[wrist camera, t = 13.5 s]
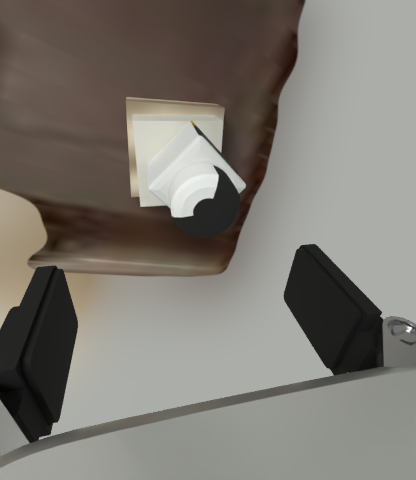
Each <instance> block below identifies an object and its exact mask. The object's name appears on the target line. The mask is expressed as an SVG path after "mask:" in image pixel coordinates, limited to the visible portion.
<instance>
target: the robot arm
mask: <svg viewBox="0 0 416 480" xmlns="http://www.w3.org/2000/svg"><path fill="white" fill-rule="evenodd" d="M284 300H285V302H286V304H287V306H288V307H289V309H290V310H291V312H292V314H293V315H294V317H295V318H296V320H297V322H298V323H299V325H300V327H301V328H302V330H303V331H304V333H305V334H306V336H307V338H308V339H309V341H310V343H311V344H312V346H313V347H314V349H315V350H316V352H317V354H318V355H319V357H320V358H321V360H322V362H323V363H324V365H325V366H326V367H327V368H329V369H330V370H331V371H332V373H333V374H334V376H330V377H324V378H320V379H314V380H309V381H304V382H300V383H294V384H289V385H285V386H279V387H274V388H270V389H265V390H259V391H255V392H250V393H245V394H240V395H235V396H230V397H225V398H221V399H215V400H211V401H206V402H201V403H196V404H191V405H186V406H182V407H177V408H173V409H167V410H163V411H158V412H153V413H148V414H144V415H139V416H134V417H129V418H125V419H120V420H116V421H111V422H107V423H103V424H99V425H94V426H89V427H85V428H81V429H76V430H72V431H69V432H65V433H62V434H58V435H55V436H50V437H47V438H44V439H41V440H39V437H42V436H47V435H50V434H51V429H52V425H53V423H55V422H58V421H59V418H60V414H61V409H62V404H63V399H64V394H65V389H66V384H67V379H68V374H69V369H70V364H71V359H72V354H73V349H74V344H75V339H76V334H77V328H78V321H77V317H76V313H75V309H74V306H73V302H72V299H71V295H70V292H69V289H68V285H67V281H66V278H65V274H64V271H63V269H58V268H57V267H56V266H44V267H38V268H37V269H36V270H35V273H34V275H33V277H32V280H31V282H30V284H29V286H28V288H27V290H26V292H25V295H24V297H23V299H22V302H21V304H20V306H18V307H13V308H12V309H10V311H9V313H8V314H7V317H6V319H5V321H4V323H3V325H2V327H1V329H0V480H416V324H414V323H413V322H411V321H409V320H406V319H404V318H400V317H394V316H390V317H386V319H384V320H383V319H382V318H381V317H380V315H381V314H382V312H381V311H380V310H379V309H378V308H377V307H376V306H375V305H374V304H373V302H371V300H370V299H369V298H368V297H367V296H366V295H365V294H364V293H363V292H362V291H361V290H360V289H359V288H358V287H357V286H356V285H355V284H354V283H353V282H352V281H351V280H350V279H349V278H348V277H347V276H346V275H345V274H344V273H343V272H342V271H341V270H340V269H339V268H338V267H337V266H336V265H335V264H334V263H333V262H332V261H331V259H329V257H328V256H327V255H326V254H325V253H324V252H323V251H321V249H320V248H319V247H318V246H317V245H315V244H309V245H302V246H300V248H299V249H297V250H296V253H295V257H294V260H293V264H292V267H291V271H290V274H289V278H288V281H287V285H286V288H285V292H284Z"/></svg>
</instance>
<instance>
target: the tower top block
mask: <svg viewBox="0 0 416 480" xmlns="http://www.w3.org/2000/svg"><path fill="white" fill-rule="evenodd" d="M189 121H193V122H194V123H195V124H196V126H197V127H198V128H199V129H200V130H201V131H202V132H203V133H204V134H205V136H206V137H207V138H208V139H209V140H210V141H211V142H212V143H213V144H214V146H215V147H216V148H217V149H218V150H219V151H220V152H221V150H222V135H223V121H222V120H220V119H219V118H217V117H216V116H214V115H151V114H133V116H132V122H133V133H134V143H135V154H136V164H137V175H138V186H139V196H140V207H146V206H164V205H166V204H164V203H163V202H162V201H161V200H160V199H158V198H157V197H156V196H155V195H154V194H152V193H151V192H150V191H149V190H148V164H149V163H150V161H151V160H152V159H153V158H154V157H155V156H156V155H157V154H158V153H159V152H160V151H161V150H162V149H163V148H164V147H165V146H166V145H167V144H168V143H169V142H170V140H171V139H172V138H173V137H174V136H175V135H176V134H177V133H178V132H179V131H180V130H181V129H182V128H183V127H184V126H185V125H186V124H187V123H188V122H189Z"/></svg>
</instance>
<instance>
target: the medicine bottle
mask: <svg viewBox="0 0 416 480" xmlns="http://www.w3.org/2000/svg"><path fill="white" fill-rule="evenodd" d="M245 187H246V184H245V182H244V181H243V180H242V178H241V177H240V176H239V174H238V173H237V172H236V170H235V169H234V168H233V166H232V165H231V163H230V162H229V161H228V160H227V159H226V158H225V157H224V156H223V154H222V153H221V152H220V151H219V150H218V149H217V148H216V147H215V146H214V144H213V143H212V142H211V141H210V140H209V139H208V138H207V137H206V136H205V134H204V133H203V132H202V131H201V130H200V129H199V128H198V127H197V126H196V124H195V123H194V122H193V121H189V122H188V123H187V124H186V125H185V126H184V127H183V128H182V129H181V130H180V131H179V132H178V133H177V134H176V135H175V136H174V137H173V138H172V139H171V140H170V142H169V143H168V144H167V145H166V146H165V147H164V148H163V149H162V150H161V151H160V152H159V153H158V154H157V155H156V156H155V157H154V158H153V159H152V160H151V161H150V163H149V164H148V190H149V191H150V192H151V193H152V194H154V195H155V196H156V197H157V198H158V199H160V200H161V201H162V202H163V203H164V204H166V205H167V206H168V207H169V208H171V214H172V218H173V220H174V222H175V224H176V225H177V226H178V227H179V228H180V229H181V230H182V231H183V232H185V233H187V234H189V235H192V236H196V237H209V236H214V235H217V234H219V233H221V232H223V231H224V230H226V229H227V228H228V227H229V226H230V225H231V224H232V223H233V222H234V221H235V219H236V217H237V215H238V213H239V209H240V196H239V193H240V192H241V191H242V190H244V189H245Z"/></svg>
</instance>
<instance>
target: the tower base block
mask: <svg viewBox="0 0 416 480" xmlns="http://www.w3.org/2000/svg"><path fill="white" fill-rule="evenodd" d="M224 111H225V108H224V107H222V106H220V105H218V104H210V103H197V102H184V101H171V100H158V99H145V98H132V97H126V114H127V131H128V148H129V165H130V182H131V197H140V196H139V186H138V175H137V164H136V154H135V143H134V133H133V122H132V116H133V114H151V115H214V116H216V117H217V118H219V119H220V120H222V121H223V120H224Z"/></svg>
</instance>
